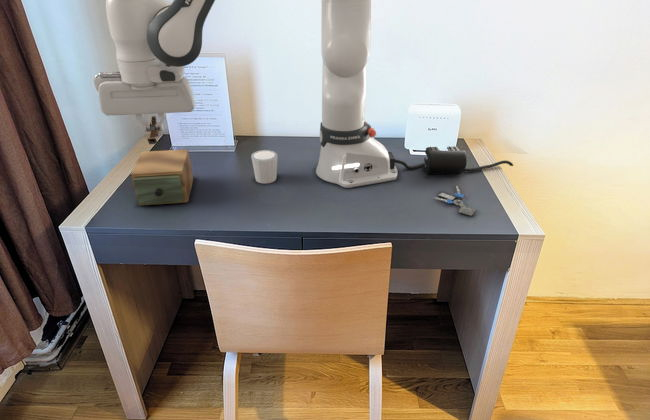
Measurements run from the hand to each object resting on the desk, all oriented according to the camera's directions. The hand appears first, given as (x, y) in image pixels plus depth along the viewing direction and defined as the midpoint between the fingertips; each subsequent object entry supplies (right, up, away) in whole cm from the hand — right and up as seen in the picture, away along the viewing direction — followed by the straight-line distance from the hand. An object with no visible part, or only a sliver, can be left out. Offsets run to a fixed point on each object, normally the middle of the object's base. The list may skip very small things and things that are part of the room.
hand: (154, 130), depth 101 cm
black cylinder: (+73, -8, +19) cm, 76 cm away
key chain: (+72, -17, +5) cm, 74 cm away
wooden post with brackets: (0, -2, 0) cm, 2 cm away
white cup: (+24, -10, +15) cm, 30 cm away
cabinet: (0, -14, +9) cm, 16 cm away
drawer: (0, -14, +6) cm, 16 cm away
